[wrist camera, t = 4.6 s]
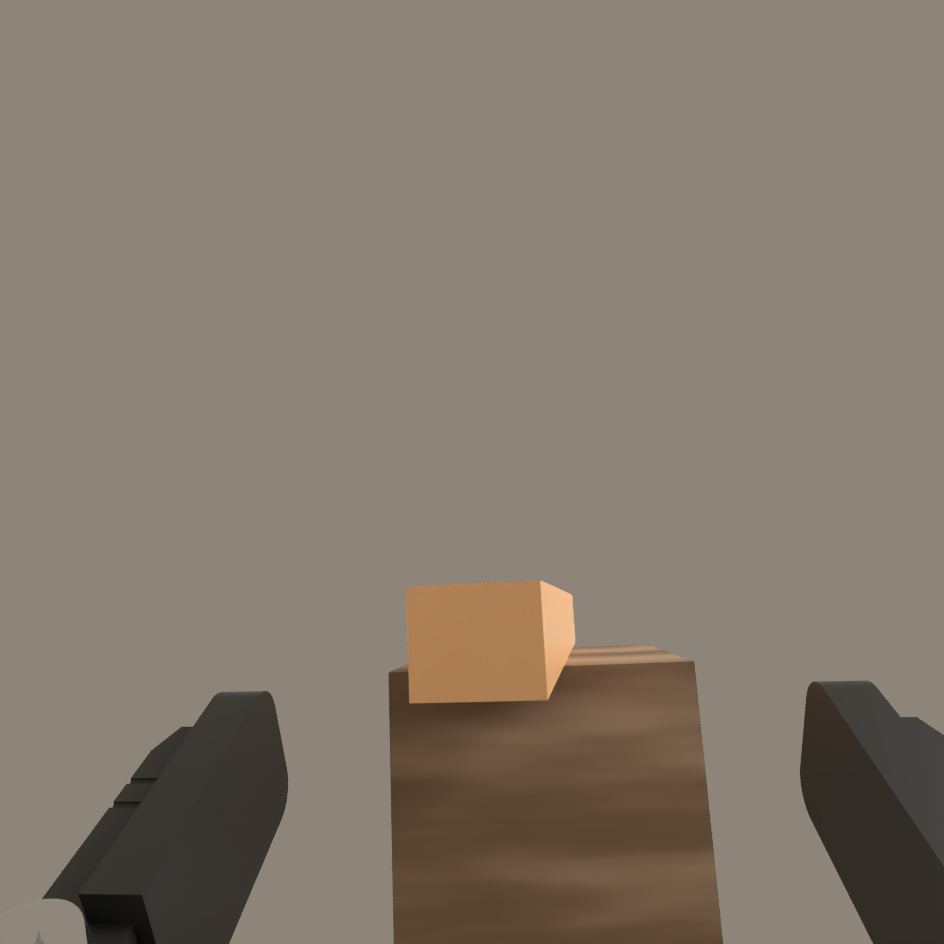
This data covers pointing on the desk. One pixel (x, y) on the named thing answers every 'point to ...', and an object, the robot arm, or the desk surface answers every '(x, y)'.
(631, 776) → the pedestal
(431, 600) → the light orange bar
